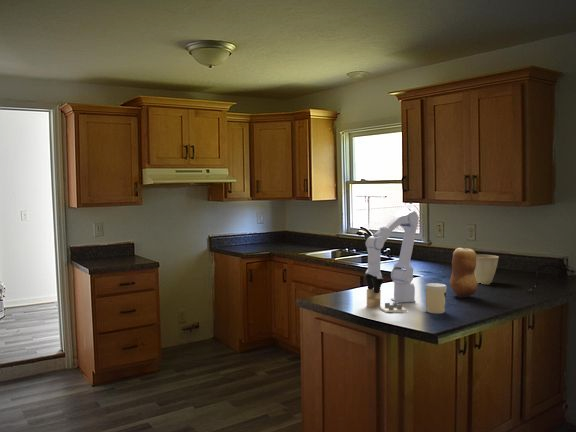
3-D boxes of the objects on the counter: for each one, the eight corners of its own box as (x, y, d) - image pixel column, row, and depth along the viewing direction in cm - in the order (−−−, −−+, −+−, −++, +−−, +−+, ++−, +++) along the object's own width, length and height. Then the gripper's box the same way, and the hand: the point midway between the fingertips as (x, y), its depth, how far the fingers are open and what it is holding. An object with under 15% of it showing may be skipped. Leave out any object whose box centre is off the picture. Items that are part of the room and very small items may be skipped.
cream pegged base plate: (400, 308, 242) (400, 301, 241) (406, 311, 235) (407, 305, 235) (379, 309, 240) (380, 302, 239) (385, 312, 233) (386, 306, 233)
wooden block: (378, 305, 246) (379, 288, 246) (380, 306, 244) (380, 289, 244) (366, 306, 245) (366, 289, 245) (368, 307, 243) (368, 290, 243)
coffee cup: (449, 313, 232) (450, 286, 231) (428, 314, 231) (429, 286, 230) (441, 308, 241) (442, 282, 240) (421, 309, 240) (422, 283, 240)
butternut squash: (482, 299, 260) (483, 249, 259) (456, 300, 258) (457, 250, 257) (468, 294, 274) (469, 246, 273) (443, 294, 272) (445, 246, 271)
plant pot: (501, 286, 297) (501, 258, 296) (473, 285, 299) (474, 257, 298) (494, 281, 312) (494, 254, 311) (468, 280, 314) (468, 254, 313)
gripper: (360, 260, 250) (360, 288, 251) (371, 264, 236) (371, 294, 236) (374, 260, 251) (374, 288, 252) (386, 264, 237) (385, 294, 238)
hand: (373, 291), depth 244 cm, fingers open, 7 cm apart
